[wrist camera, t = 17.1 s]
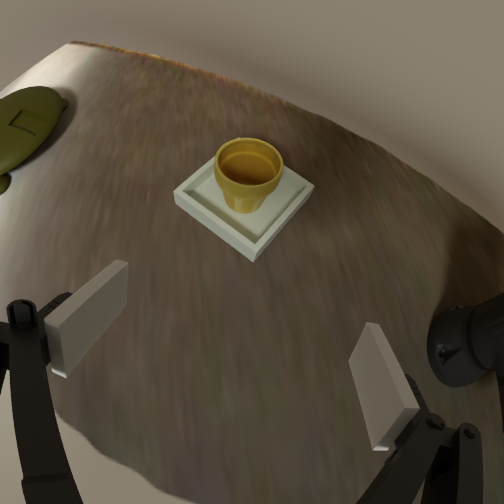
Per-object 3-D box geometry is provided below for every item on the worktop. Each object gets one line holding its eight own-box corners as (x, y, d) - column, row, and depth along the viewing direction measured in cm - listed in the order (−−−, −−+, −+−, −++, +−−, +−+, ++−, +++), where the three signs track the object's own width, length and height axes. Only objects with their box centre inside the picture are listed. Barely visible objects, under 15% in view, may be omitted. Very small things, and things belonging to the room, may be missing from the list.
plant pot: (222, 168, 57) (225, 130, 48) (277, 182, 57) (288, 145, 48) (205, 214, 52) (205, 178, 43) (266, 229, 52) (277, 195, 44)
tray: (309, 197, 57) (314, 185, 54) (253, 262, 50) (256, 252, 47) (237, 149, 60) (238, 137, 57) (175, 203, 53) (173, 191, 50)
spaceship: (-55, 182, 50) (-72, 159, 41) (6, 100, 63) (-4, 77, 55) (19, 206, 50) (-3, 177, 41) (91, 104, 63) (82, 73, 55)
